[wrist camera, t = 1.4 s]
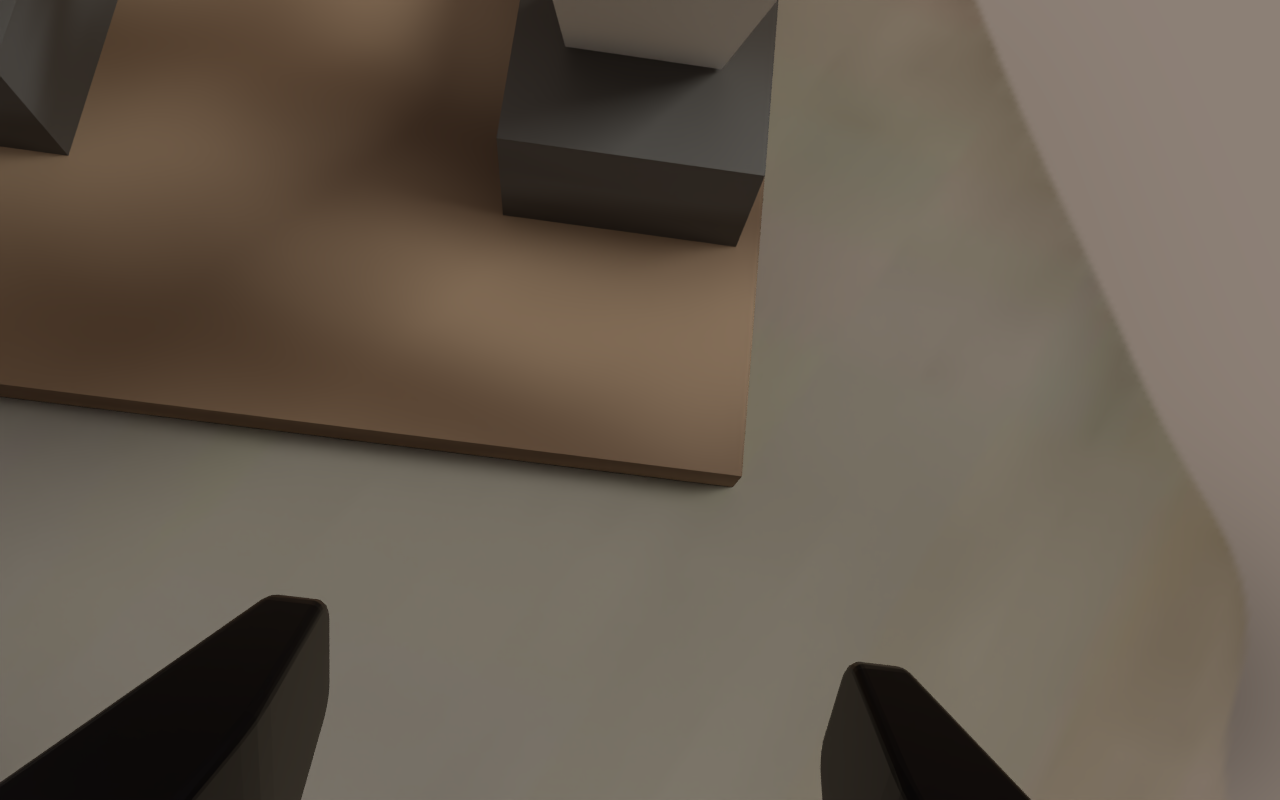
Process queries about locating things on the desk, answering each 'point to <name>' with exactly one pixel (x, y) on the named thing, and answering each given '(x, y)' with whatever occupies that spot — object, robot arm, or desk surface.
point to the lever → (661, 27)
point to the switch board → (383, 226)
